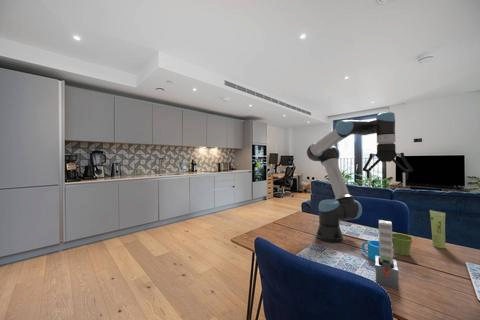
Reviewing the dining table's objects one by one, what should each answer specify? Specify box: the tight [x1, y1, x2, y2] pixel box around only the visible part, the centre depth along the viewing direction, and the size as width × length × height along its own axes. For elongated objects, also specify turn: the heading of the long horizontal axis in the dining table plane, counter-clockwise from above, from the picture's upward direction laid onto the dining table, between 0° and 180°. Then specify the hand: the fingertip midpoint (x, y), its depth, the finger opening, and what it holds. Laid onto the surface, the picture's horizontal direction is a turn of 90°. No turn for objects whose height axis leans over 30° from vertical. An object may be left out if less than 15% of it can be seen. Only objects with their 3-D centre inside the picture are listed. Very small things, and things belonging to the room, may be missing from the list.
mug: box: [361, 239, 380, 262], centre depth 95 cm, size 12×8×8 cm
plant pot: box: [392, 232, 414, 257], centre depth 100 cm, size 9×9×9 cm
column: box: [378, 219, 394, 266], centre depth 76 cm, size 4×6×16 cm
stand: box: [375, 256, 400, 290], centre depth 76 cm, size 18×12×10 cm, turn 55°
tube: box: [429, 209, 447, 249], centre depth 106 cm, size 6×5×20 cm
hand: (386, 185), depth 97 cm, fingers open, 13 cm apart
